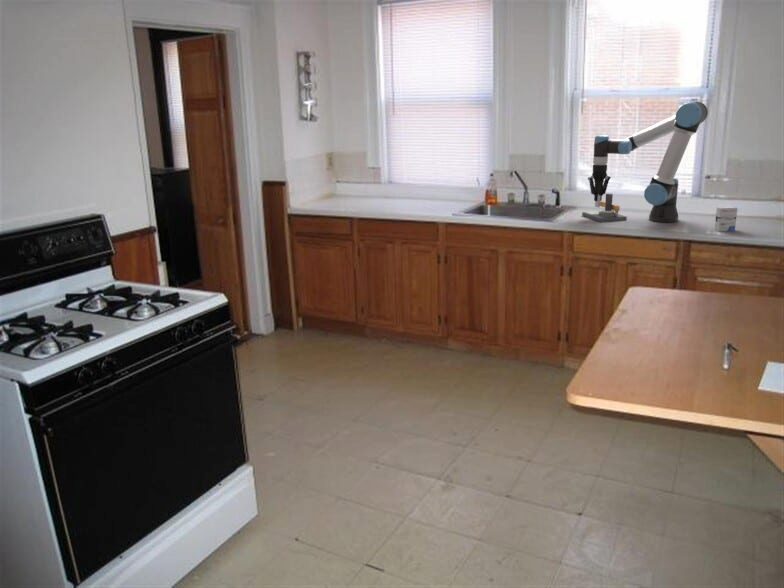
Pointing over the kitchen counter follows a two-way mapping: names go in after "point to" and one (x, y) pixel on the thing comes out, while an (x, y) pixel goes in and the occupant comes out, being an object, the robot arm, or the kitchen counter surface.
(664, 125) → the robot arm
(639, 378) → the kitchen counter surface
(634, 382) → the kitchen counter surface
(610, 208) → the plug
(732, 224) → the ink box
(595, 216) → the socket board
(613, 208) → the clip
